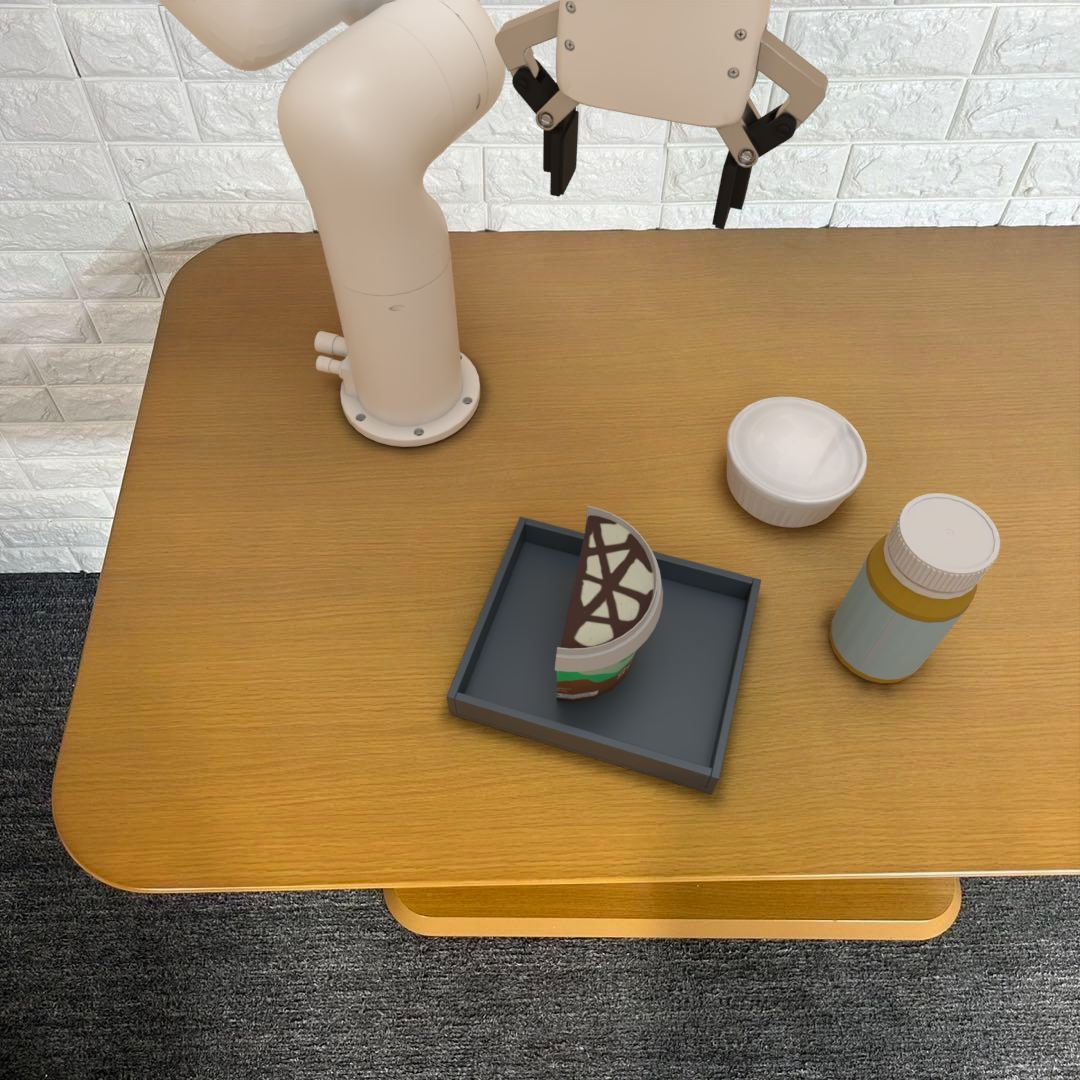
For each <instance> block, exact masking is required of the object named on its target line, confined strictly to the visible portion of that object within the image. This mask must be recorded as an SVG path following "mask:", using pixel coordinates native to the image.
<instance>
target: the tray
mask: <svg viewBox="0 0 1080 1080" xmlns="http://www.w3.org/2000/svg"><path fill="white" fill-rule="evenodd" d="M514 527H515V528H514V530H513V532H512V535H511V536H510V539H509V542H508V544H507V546H506V550H505V552H504V554H503V557H502V559H501V561H500V564H499V567H498V569H497V571H496V574H495V576H494V579H493V581H492V584H491V586H490V588H489V590H488V592H487V593H488V594H487V596H486V599H485V600H484V602H483V606H482V608H481V610H480V612H479V616H478V617H477V620H476V623H475V625H474V628H473V630H472V633H471V636H470V638H469V640H468V642H467V645H466V648H465V650H464V652H463V655H462V657H461V659H460V662H459V665H458V666H457V670H456V672H455V675H454V677H453V680H452V682H451V685H450V687H449V689H448V691H447V694H446V701H447V706H448V711H449V715H450V716H453V717H457V718H459V719H460V718H461V719H463V720H467V721H470V722H473V723H475V724H476V723H477V724H480V725H484V726H486V727H489V728H493V729H496V730H500V731H503V732H506V733H508V734H512V735H517V736H519V737H523V738H526V739H530V740H532V741H536V742H539V743H542V744H546V745H549V746H552V747H555V748H559V749H562V750H565V751H569V752H572V753H575V754H579V755H582V756H585V757H589V758H591V759H595V760H598V761H602V762H605V763H607V764H611V765H615V766H618V767H621V768H625V769H628V770H631V771H634V772H637V773H640V774H644V775H647V776H650V777H654V778H657V779H661V780H664V781H667V782H670V783H672V784H677V785H680V786H684V787H687V788H690V789H693V790H697V791H700V792H703V793H707V794H710V795H713V793H714V791H715V790H716V787H717V785H718V783H719V781H720V779H721V776H722V775H721V774H722V769H723V764H724V760H725V756H726V750H727V746H728V741H729V736H730V731H731V727H732V722H733V717H734V712H735V708H736V703H737V698H738V694H739V688H740V684H741V678H742V674H743V670H744V665H745V659H746V656H747V650H748V647H749V646H748V645H749V641H750V636H751V632H752V626H753V622H754V617H755V614H756V613H755V611H756V609H757V602H758V599H759V594H760V588H761V583H762V579H760V578H757V577H753V576H749V575H745V574H741V573H738V572H734V571H729V570H726V569H722V568H720V567H719V568H718V567H715V566H711V565H707V564H703V563H699V562H697V561H696V562H695V561H691V560H688V559H685V558H681V557H677V556H673V555H668V554H665V553H661V552H658V551H654V550H652V552H653V554H654V556H655V558H656V560H657V564H658V567H659V570H660V575H661V581H662V588H663V605H662V609H661V613H660V617H659V620H658V622H657V624H656V626H655V629H654V630H653V632H652V633H651V634H650V636H649V637H648V639H647V640H646V641H645V642H644V643H643V644H642V645H641V646H640V647H639V648H638V649H637V651H636V654H635V657H634V659H633V662H632V665H631V667H630V668H629V670H628V672H627V674H626V676H625V678H624V679H623V680H622V681H621V682H620V683H619V684H618V685H616V686H615V687H614V688H613V689H612V690H611V691H609V692H607V693H605V694H603V695H601V696H599V697H597V698H595V699H591V700H584V701H578V702H565V701H556V682H557V671H556V670H555V662H556V654H557V647H560V648H561V642H562V637H563V632H564V628H565V623H566V618H567V614H568V609H569V605H570V600H571V596H572V590H573V586H574V581H575V576H576V571H577V567H578V563H579V558H580V553H581V548H582V544H583V539H584V535H585V532H582V531H577V530H574V529H570V528H566V527H562V526H558V525H555V524H551V523H547V522H543V521H540V520H536V519H532V518H527V517H524V516H519V518H518V519H517V522H516V525H515V526H514Z"/></svg>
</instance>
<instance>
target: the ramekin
mask: <svg viewBox="0 0 1080 1080" xmlns="http://www.w3.org/2000/svg"><path fill="white" fill-rule="evenodd" d="M725 452H726V481H727V486H728V488H729V490H730V493H731V494H732V496H733V498H734V500H735V501H736V503H737V504H738V505H739V506H740V507H741V508H742V509H744V511H746V512H747V513H748V514H749V515H751V516H753V517H754V518H755V519H757V520H759V521H761V522H763V523H766V524H768V525H771V526H774V527H775V526H776V527H780V528H791V529H793V528H803V527H804V528H805V527H809V526H813V525H816V524H817V523H820V522H822V521H824V520H825V519H827V518H829V516H830V515H832V514H833V513H834V512H835V511H836V510H837V509H838V508H839V507H840V505H841V504H842V503H843V502H844V501H846V500H847V499H848V498H849V497H850V496H852V495H853V494H854V493H855V492H856V491H857V489H858V488H859V487H860V485H861V483H862V481H863V479H864V477H865V475H866V471H867V465H868V455H867V451H866V446H865V443H864V441H863V439H862V437H861V435H860V433H859V432H858V430H857V429H856V427H854V426H853V425H852V423H851V422H850V421H849V420H848V419H847V418H846V417H844V416H843V415H842V414H840V413H839V412H838V411H836V410H834V409H832V408H831V407H829V406H827V405H825V404H824V403H823V404H822V403H820V402H818V401H815V400H812V399H807V398H803V397H797V396H774V397H768V398H763V399H759V400H757V401H755V402H752V403H750V404H747V405H746V406H745V407H744V408H743V409H741V410H740V411H739V412H738V413H737V414H736V415H735V416H734V418H733V419H732V421H731V422H730V425H729V427H728V429H727V434H726V439H725Z"/></svg>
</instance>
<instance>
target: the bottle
mask: <svg viewBox="0 0 1080 1080" xmlns="http://www.w3.org/2000/svg"><path fill="white" fill-rule="evenodd" d="M1000 548H1001V539H1000V533H999V531H998V527H997V526H996V525H995V523H994V521H993V520H992V518H990V516H989V515H988V514H987V513H986V512H985V511H984V510H983V509H982V508H980V507H979V506H977V505H976V504H975V503H973V502H971V501H969V500H967V499H965V498H963V497H961V496H957V495H954V494H950V493H942V492H933V493H925V494H923V495H918V496H916V497H915V498H913V499H912V500H910V501H909V502H907V503H906V504H905V505H904V506H903V508H902V509H901V511H900V512H899V514H898V516H897V517H896V519H895V521H894V522H893V524H892V526H891V528H890V531H889V532H888V533H886V534H884V535H883V536H882V537H881V538H880V539H878V540H877V541H876V542H875V544H873V546H872V548H871V550H870V551H869V553H868V555H867V556H866V558H865V560H864V562H863V563H862V566H861V567H860V569H859V571H858V573H857V574H856V576H855V577H854V579H853V581H852V583H851V584H850V587H849V589H848V590H847V592H846V594H845V596H844V598H843V599H842V601H841V603H840V604H839V606H838V608H837V610H836V612H835V614H834V616H833V618H832V620H831V623H830V625H829V641H830V645H831V648H832V650H833V652H834V654H835V656H836V657H837V659H838V660H839V662H840V663H841V664H842V665H844V667H846V668H847V669H848V670H849V671H850V672H851V673H853V674H855V675H857V676H858V677H860V678H861V679H862V678H863V679H864V680H867V681H869V682H874V683H879V684H894V683H899V682H902V681H905V680H907V679H909V678H910V677H912V676H913V675H914V674H915V673H916V672H918V670H919V669H920V668H921V667H922V666H923V664H924V663H925V662H926V661H927V659H928V658H929V657H930V656H931V654H932V653H934V651H935V650H936V649H937V647H938V646H939V645H940V643H941V642H942V641H943V639H944V638H946V636H947V635H948V633H949V632H950V631H951V630H952V628H953V627H954V626H955V625H956V623H957V622H958V621H959V619H960V618H962V616H963V614H964V613H965V612H966V611H967V610H968V608H969V607H970V605H971V604H972V602H973V601H974V598H975V596H976V594H977V589H978V582H980V581H981V580H982V579H983V577H984V576H985V575H986V574H987V572H988V571H989V570H990V568H991V567H992V565H994V563H995V562H996V560H997V558H998V557H999V552H1000Z"/></svg>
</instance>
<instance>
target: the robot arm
mask: <svg viewBox="0 0 1080 1080" xmlns="http://www.w3.org/2000/svg"><path fill="white" fill-rule="evenodd" d="M157 2H159V3H160V4H161V6H163V8H164V9H166V10H167V11H168V12H169V13H170V15H172V16H173V17H174V18H175V19H176V20H177V21H178V22H179V24H181V25H182V26H183V27H184V28H185V29H186V30H187V31H188V32H189V33H190V34H191V35H192V36H194V37H195V38H196V40H197V41H199V42H200V43H201V44H202V45H203V46H204V47H205V48H206V49H208V50H209V51H210V52H211V53H212V54H213V55H215V56H216V57H217V58H218V59H220V60H221V61H223V62H224V63H225V64H226V65H227V64H228V65H229V66H231V67H233V68H234V69H237V70H240V71H243V72H257V71H261V70H265V69H267V68H270V67H272V66H274V65H276V64H279V63H280V62H282V61H284V60H285V59H287V58H290V57H291V56H292V55H294V54H296V53H297V52H299V51H300V50H302V49H304V48H305V47H306V46H308V45H310V44H311V43H313V42H314V41H315V40H317V39H319V38H320V37H321V36H323V35H324V34H325V33H327V32H329V31H330V30H332V29H333V28H335V27H336V26H338V25H340V23H344V24H345V25H346V26H348V27H347V28H345V29H344V30H342V31H341V32H340V33H338V34H337V35H335V36H333V37H332V38H330V39H329V40H327V42H324V43H323V44H322V45H320V46H319V47H317V49H315V50H314V51H313V52H311V53H310V54H309V55H307V56H306V57H305V58H304V59H303V60H302V62H300V63H299V65H297V66H296V67H295V69H294V70H293V71H292V73H291V74H290V76H289V77H288V78H287V80H286V81H285V84H284V85H283V87H282V90H281V92H280V95H279V99H278V104H277V112H276V113H277V125H278V130H279V134H280V137H281V140H282V143H283V147H284V149H285V151H286V153H287V155H288V158H289V160H290V162H291V164H292V167H293V169H294V171H295V172H296V175H297V177H298V180H299V181H300V183H301V185H302V187H303V189H304V193H305V194H306V197H307V200H308V202H309V205H310V207H311V210H312V213H313V216H314V220H315V224H316V226H317V230H318V234H319V237H320V242H321V246H322V250H323V255H324V258H325V263H326V266H327V269H328V274H329V277H330V282H331V287H332V291H333V295H334V300H335V304H336V309H337V312H338V317H339V320H340V321H339V322H340V325H341V330H342V334H343V336H341V335H340V334H336V333H332V332H327V331H324V330H320V331H318V332H317V333H316V335H315V337H314V343H313V345H314V349H315V351H316V352H319V353H323V354H327V355H330V356H334V357H336V356H339V357H342V358H344V359H342V360H338V359H335V358H333V357H329V356H325V355H319V356H318V357H317V358H316V361H315V369H316V370H317V371H319V372H323V373H327V374H334V375H338V376H339V378H340V379H341V380H342V382H341V383H340V391H339V395H340V403H341V406H342V411H343V413H344V416H345V417H346V419H347V421H348V423H349V424H350V425H351V426H352V427H353V428H354V429H355V431H357V432H358V433H360V434H361V435H363V436H364V437H365V438H367V439H370V440H371V441H375V442H376V443H379V444H383V445H387V446H392V447H400V448H401V447H403V448H404V447H405V448H406V447H408V448H409V447H419V446H425V445H430V444H434V443H436V442H439V441H442V440H445V439H446V438H448V437H450V436H452V435H454V434H456V433H457V432H458V431H460V429H462V428H463V427H464V426H466V425H467V423H469V421H470V420H471V419H472V418H473V416H474V414H475V412H476V411H477V409H478V407H479V404H480V399H481V383H480V376H479V374H478V371H477V368H476V366H475V365H474V363H473V362H472V361H471V359H470V358H469V357H467V356H466V355H465V354H464V353H463V352H462V351H461V350H460V349H461V348H460V339H459V338H460V337H459V327H458V326H459V325H458V316H457V306H456V305H457V304H456V296H455V295H456V294H455V284H454V272H453V271H454V270H453V262H452V251H451V245H450V235H449V228H448V223H447V220H446V217H445V214H444V211H443V209H442V208H441V206H440V205H439V203H438V201H436V200H435V199H434V198H433V197H432V196H431V194H429V193H428V192H427V190H426V188H425V186H424V177H425V174H426V172H427V170H428V168H429V167H430V165H431V164H433V162H434V161H435V160H436V159H438V158H439V157H440V156H441V155H442V154H443V153H445V152H446V150H447V149H448V148H449V147H450V146H451V145H452V144H453V143H455V142H456V141H457V140H458V139H459V138H460V137H462V136H463V135H464V134H465V133H466V132H468V131H469V130H470V129H471V128H472V127H473V126H474V125H476V124H477V123H478V122H479V121H480V120H481V119H483V117H484V116H485V115H486V114H487V113H488V112H489V111H491V110H492V108H493V107H494V105H495V104H496V103H497V101H498V99H499V98H500V96H501V94H502V91H503V88H504V84H505V81H506V74H507V73H506V70H507V72H509V73H510V75H511V77H512V79H511V84H512V87H513V88H514V91H516V93H517V94H518V95H519V97H521V99H522V100H523V101H524V102H525V103H526V105H527V106H528V107H529V108H530V109H531V110H532V112H533V113H534V114H535V122H536V125H537V126H538V128H539V129H541V130H542V131H543V133H542V134H543V135H542V137H543V138H542V139H543V140H542V141H543V142H542V145H543V146H542V170H543V172H545V173H548V174H549V173H550V177H549V178H550V184H549V185H550V187H549V195H550V196H553V197H561V196H564V195H565V193H566V190H567V188H568V186H569V185H570V182H571V181H572V178H573V176H574V174H575V172H576V170H577V165H578V164H577V163H578V143H579V142H578V141H579V139H578V138H579V119H580V117H579V116H580V112H579V110H577V107H578V106H579V105H584V106H586V107H590V108H591V107H592V108H596V109H601V110H606V111H611V112H617V113H622V114H627V115H632V116H638V117H644V118H648V119H654V120H660V121H665V122H672V123H678V124H683V125H687V126H688V125H689V126H695V127H700V128H712V129H713V128H714V129H715V130H716V131H717V133H718V134H719V137H720V138H721V139H722V141H723V143H724V144H725V146H726V147H727V149H728V151H727V154H726V157H725V161H724V163H723V167H722V170H721V176H720V182H719V186H718V192H717V196H716V202H715V207H714V208H715V209H714V212H713V218H712V223H711V225H712V226H714V228H715V229H719V230H725V227H726V224H727V222H728V219H729V214H730V212H731V209H734V210H738V211H739V210H740V211H742V210H743V207H744V204H745V201H746V196H747V193H748V189H749V185H750V184H749V183H750V179H751V174H752V170H753V166H756V164H757V163H758V161H759V158H761V157H763V156H764V155H766V154H768V153H769V152H770V151H772V150H774V149H775V148H777V147H779V146H781V145H782V144H784V143H786V142H787V141H789V140H790V139H791V138H793V136H794V134H795V132H796V131H797V130H798V128H799V127H801V125H802V124H804V123H805V122H806V120H808V119H809V117H810V116H811V115H812V114H813V113H814V112H815V110H816V109H818V107H819V106H820V105H821V104H822V103H823V101H824V100H825V99H826V94H827V92H828V91H827V90H828V86H829V79H828V77H827V75H825V74H824V73H823V72H822V71H820V70H819V68H817V67H816V66H814V65H813V64H812V63H810V62H809V61H808V60H806V58H804V57H803V56H802V55H801V54H799V53H798V52H796V51H795V50H794V49H792V47H790V46H789V45H788V44H786V43H785V42H784V41H782V40H781V39H780V38H778V37H777V35H775V34H773V33H772V32H771V31H770V30H768V27H769V26H768V25H769V20H770V14H771V7H772V2H773V0H556V1H554V2H553V3H549V4H547V5H544V6H542V7H539V8H538V9H535V10H533V11H532V10H531V11H530V12H528V13H524V14H523V15H520V16H517V17H515V18H513V19H510V20H508V21H506V22H504V23H503V25H501V27H500V29H499V30H497V28H496V27H495V24H494V23H493V21H492V19H491V17H490V16H489V14H488V13H487V11H486V10H485V8H484V7H483V5H482V4H481V3H480V1H478V0H157ZM554 39H556V45H555V77H556V81H555V79H554V78H553V77H552V76H551V75H550V73H549V72H548V71H547V69H545V67H544V66H543V65H542V63H541V62H540V61H539V60H538V59H537V58H535V56H534V54H535V53H534V51H533V48H532V47H535V46H537V45H540V44H542V43H545V42H547V41H550V40H554ZM759 72H760V73H761V74H762V75H764V76H765V77H766V78H768V79H769V80H771V81H772V82H773V83H774V84H775V85H777V86H778V87H780V88H781V89H782V90H784V92H786V94H788V97H787V98H786V100H785V101H784V102H783V103H781V104H779V105H778V106H777V107H775V108H774V109H773V108H772V110H770V111H768V112H766V113H765V114H764V115H763V116H761V114H760V112H759V111H758V109H757V107H756V106H755V104H754V102H753V100H752V98H751V96H750V95H751V91H752V89H753V88H754V87H755V85H756V82H757V81H758V80H757V79H758V76H759Z"/></svg>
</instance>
